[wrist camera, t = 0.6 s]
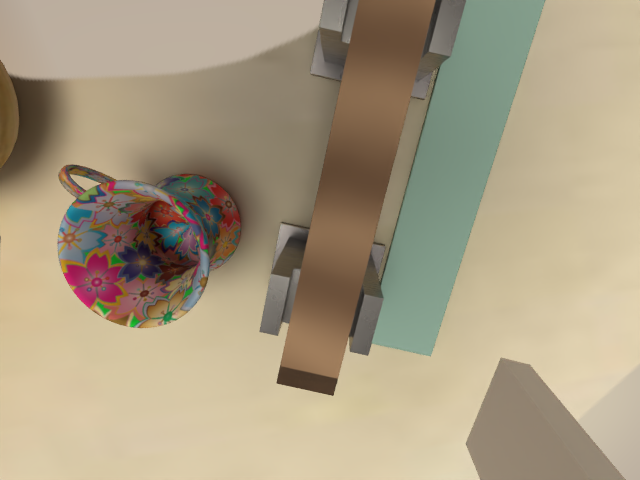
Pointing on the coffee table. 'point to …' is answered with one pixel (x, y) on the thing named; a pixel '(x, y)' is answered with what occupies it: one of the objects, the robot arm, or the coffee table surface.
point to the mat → (452, 168)
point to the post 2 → (339, 29)
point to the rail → (353, 186)
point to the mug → (144, 244)
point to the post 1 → (287, 281)
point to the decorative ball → (7, 115)
